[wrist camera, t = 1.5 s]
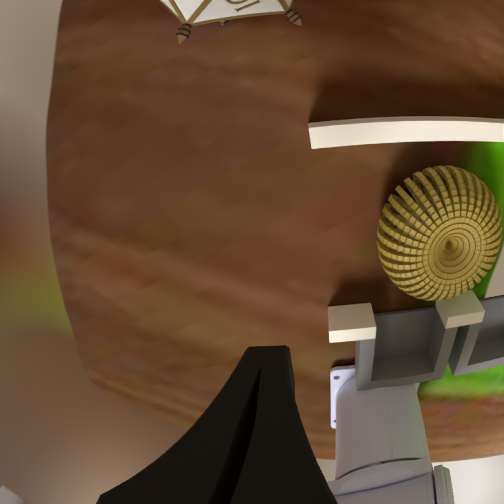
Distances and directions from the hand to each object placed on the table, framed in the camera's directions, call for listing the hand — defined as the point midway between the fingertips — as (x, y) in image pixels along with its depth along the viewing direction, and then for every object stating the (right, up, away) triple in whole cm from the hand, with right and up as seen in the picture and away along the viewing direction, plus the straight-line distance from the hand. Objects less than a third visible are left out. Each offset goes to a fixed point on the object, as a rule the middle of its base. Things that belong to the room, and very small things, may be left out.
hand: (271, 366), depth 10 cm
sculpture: (+10, +6, +7) cm, 14 cm away
